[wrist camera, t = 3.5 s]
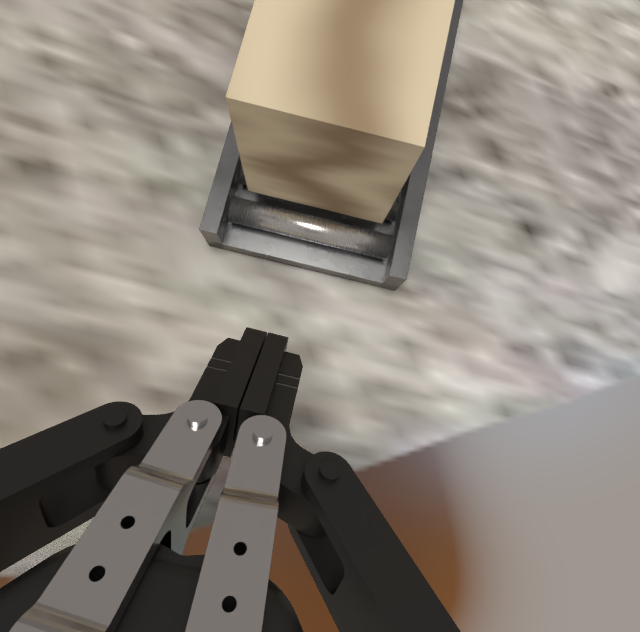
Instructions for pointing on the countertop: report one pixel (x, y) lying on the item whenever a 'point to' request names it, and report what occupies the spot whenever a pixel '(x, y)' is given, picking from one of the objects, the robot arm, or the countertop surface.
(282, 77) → the birch slab
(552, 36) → the countertop surface
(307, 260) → the roller track
